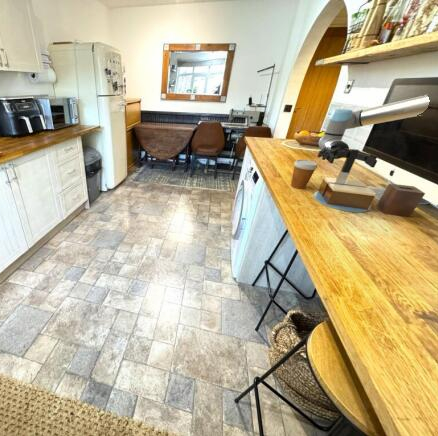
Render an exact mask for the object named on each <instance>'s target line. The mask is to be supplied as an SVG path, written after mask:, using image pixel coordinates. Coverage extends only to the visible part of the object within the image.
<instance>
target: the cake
mask: <svg viewBox="0 0 438 436" xmlns="http://www.w3.org/2000/svg"><path fill="white" fill-rule="evenodd" d="M336 179H337V177H336V178H335V177H329V176H328V177H327V176H324V177H323V178H322V181H321V183H320V185H319V188H318V190H317V191H314V193H313V198H314V200H316V201H317V202H318V203H320V204H321V205H323V206H325V207H329V208H332V209H334V210H338V211H341V212H347V213H348V212H349V213H357V214H359V213H366V212H369V211H370V210H371V207H372V206H371V205H372V203H373V201H374V199H375V197H376V195H377V194H376V192H374V191H373V190H372V189H371V188H370V187H368V185H366V183H364V182H363V181H362V180H355V179H347V180H346V182H345V184H344V185H339V184H335V182H336Z"/></svg>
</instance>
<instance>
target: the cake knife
mask: <svg viewBox="0 0 438 436" xmlns="http://www.w3.org/2000/svg"><path fill="white" fill-rule="evenodd" d="M349 149H350V151H349V154H348V156H347V158H345V160H344V163H343V165H342V167H341V168H340V169H341V170H340V171H339V172H338V175H337V177H336V178H337V179H336V182H335V184H339V185H344V184H345V182H346V180H348V177H349V175H350V171H351V170H352V168H353V165H354V163H355V161H356V160H357V159H356V157H357V155H358V153H359V151H360V150H359V149H358V148H357V149H356V148H349Z"/></svg>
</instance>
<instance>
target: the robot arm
mask: <svg viewBox="0 0 438 436" xmlns="http://www.w3.org/2000/svg"><path fill="white" fill-rule="evenodd" d="M427 95H428V94H424V96H423V95H419V96H416V97H411V98H407V99H403V100H399V101H395V102H389V103H386V104H381V105H377V106H373V107H369V108H364V109H361V110H356V111H353V110H352V109H347V108H335V109H334V110H333V111H332V113H331V115H330V117H329V121H328V123H327V126H326V129H325V131H324V134H323V136H321V138H319V140H318V146H319V148H320V150H319V151H318V153H317V156H316V157H317V158H321V160H322V161H325V160H327V162H328V163H329V164H334V161H335V160H339V159H342V158H343V159H344V158H345V159H346V158H347V156H348V154H349V151H350V149H351V148H350V147H349V145H348V143H346V142H345V141H343V140H342V139H343V137H344V136H345V132H346V130H350V129H356V128H360V127H366V126H371V125H375V124H376V125H377V124H381V123H386V122H393V121H398V120H403V119H408V118H413V117H418V116H417V115H419V114H421V113H423V112H424V111H425V110H426V109H427V108H428V105H429V102H430V100H429V97H428V96H427ZM419 116H420V115H419ZM377 158H378V155H374V153H369V152H364V151H361V150H359V153H358V155H357V157H356V159H355V160H357V161H360V162H361V161H362V162H364V164H366V165H367V166H369V167H370V168H373V169H374V168H375V167H376V164H377V163H378V159H377Z"/></svg>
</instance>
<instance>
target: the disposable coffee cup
mask: <svg viewBox="0 0 438 436" xmlns="http://www.w3.org/2000/svg"><path fill="white" fill-rule="evenodd" d="M317 168H318V163H317V162H315V161H313V160H309V159H296V161H294V162H293V171H292V177H291V181H290V186H291V187H292V188H295V189H299V190H304V189H306V188H307V186H308V184H309V182H310V180H311V178H312V176H313V175H314V172H315V171H316V170H317Z"/></svg>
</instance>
